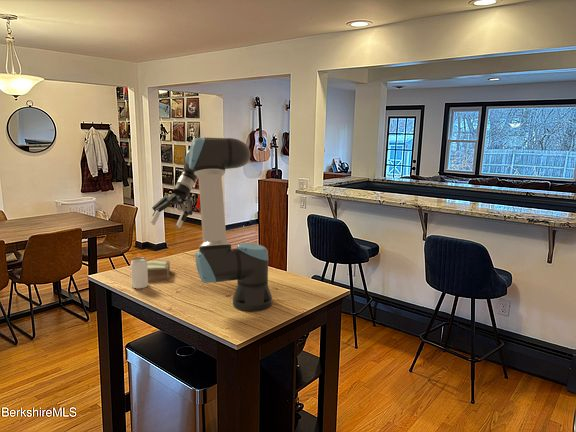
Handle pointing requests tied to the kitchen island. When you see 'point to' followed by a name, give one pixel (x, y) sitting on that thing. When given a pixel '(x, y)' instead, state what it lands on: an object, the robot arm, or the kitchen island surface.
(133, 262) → the can
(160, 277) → the plinth
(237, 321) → the kitchen island surface
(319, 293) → the kitchen island surface
